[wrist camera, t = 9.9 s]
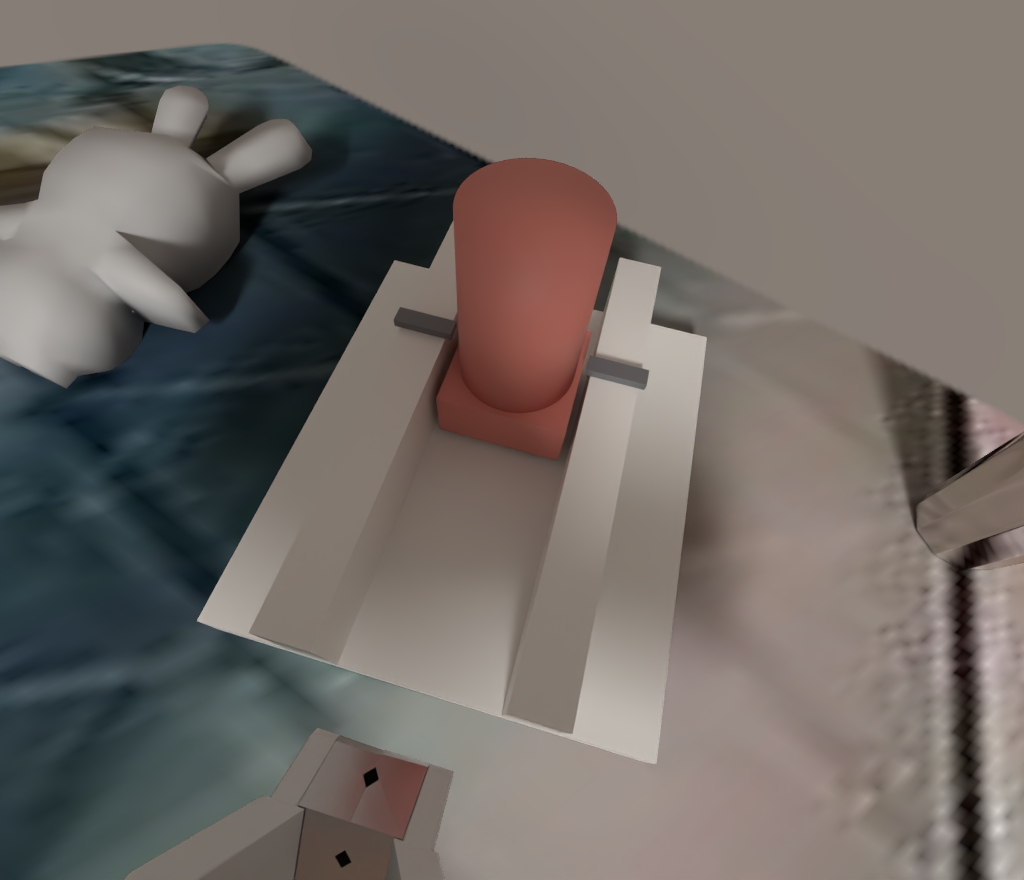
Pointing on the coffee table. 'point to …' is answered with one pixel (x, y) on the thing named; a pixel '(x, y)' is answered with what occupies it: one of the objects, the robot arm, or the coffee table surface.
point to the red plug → (524, 300)
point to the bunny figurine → (127, 236)
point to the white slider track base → (484, 524)
